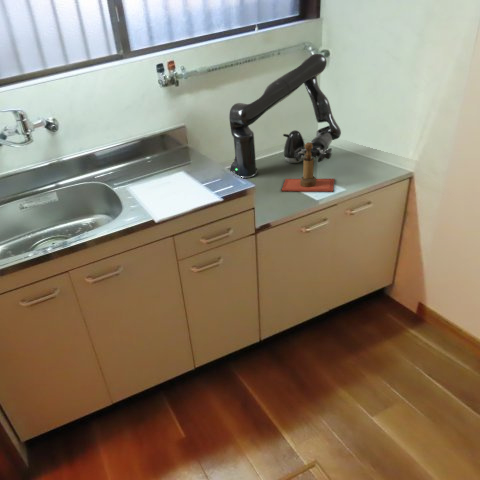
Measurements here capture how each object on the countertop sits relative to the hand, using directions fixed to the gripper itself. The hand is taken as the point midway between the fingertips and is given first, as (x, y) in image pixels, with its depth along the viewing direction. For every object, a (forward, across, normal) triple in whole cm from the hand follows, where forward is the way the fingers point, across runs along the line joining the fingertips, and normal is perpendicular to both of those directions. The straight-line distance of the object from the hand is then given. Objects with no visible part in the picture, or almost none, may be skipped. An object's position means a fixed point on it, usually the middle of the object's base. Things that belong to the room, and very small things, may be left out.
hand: (308, 159), depth 164 cm
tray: (0, 0, +12) cm, 12 cm away
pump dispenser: (-27, -14, +12) cm, 32 cm away
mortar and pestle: (0, 0, +11) cm, 11 cm away
